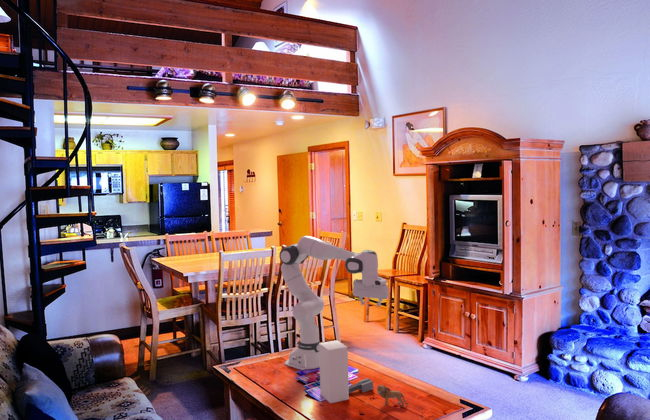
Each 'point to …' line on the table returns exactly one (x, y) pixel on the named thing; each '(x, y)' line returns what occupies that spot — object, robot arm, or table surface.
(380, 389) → the lion figurine
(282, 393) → the table surface
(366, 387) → the dark grey elongated piece
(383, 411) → the table surface
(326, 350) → the stand
